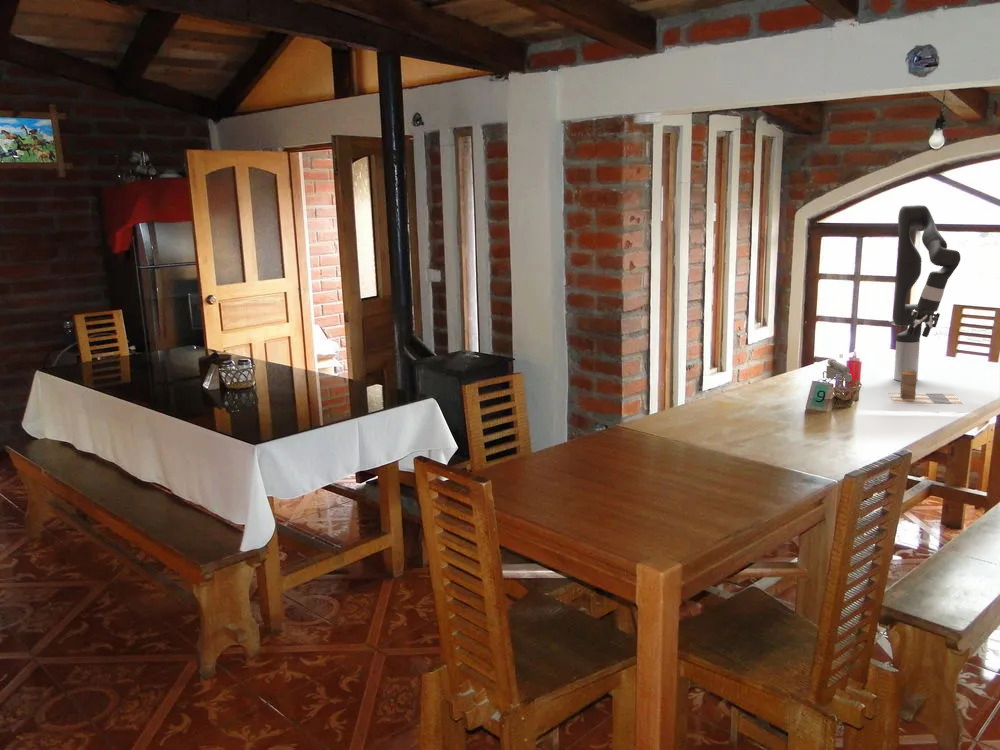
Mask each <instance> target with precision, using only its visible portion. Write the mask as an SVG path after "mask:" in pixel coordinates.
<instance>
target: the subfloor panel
mask: <svg viewBox="0 0 1000 750" xmlns="http://www.w3.org/2000/svg"><path fill="white" fill-rule="evenodd" d="M888 395H889V397H890V399H891V400H892V401H893V403H894V404H896V403H897V404H899V403H900V404H937V405H939V404H941V405H942V404H944V405H950V404H951V405H964V403H963V402H962V400H960V399H959V398H958V397H957V396H956V395H955V394H954V393H915V399H902V398H901V397H900V392H888Z"/></svg>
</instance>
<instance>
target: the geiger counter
mask: <svg viewBox="0 0 1000 750" xmlns="http://www.w3.org/2000/svg"><path fill="white" fill-rule="evenodd" d="M827 364H828V365H826V370H824V371H823V372H822V378H825V379H826V378H834V377H836V374H841V375H843V377H844V378H845V379H846V381H848V382H850V381H852V380H853V375H852V373H849V372H850V367H848V366H846V365H845V364H842V363H841V362H838V361H837V360H836V359H834V358H829V359H828V360H827ZM825 375H826V376H825ZM841 375H840V376H841Z"/></svg>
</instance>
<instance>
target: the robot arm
mask: <svg viewBox="0 0 1000 750" xmlns="http://www.w3.org/2000/svg"><path fill="white" fill-rule="evenodd" d="M897 219H898V220H897V221H898V223H897V224H898V225H897V227H898V251H897V253H898V254H897V256H898V257H897V263H896V264H897V266H896V289H895V290H896V291H895V297H894V298H895V299H894V304H893V314H892V316H893V323H894V324H895V326H898V327H905V326H906V327H908V328H907V329H905V330H904V331H901V332H899V333H897V334H896V337H895V338H896V339H895V355H894V356H895V357H894V358H895V359H894V376H893V378H894V380H896V381H899V382H901V373H902V372H901V371H902V370H915V371H916V372H917V376H916V381H918V376H919V375H918V373H919V359H920V343H921V342H920V340H921V336H922V337H925V338H928V336H929V334H930V332H931V329H933V328H936V327H937V325H938V321H939V319H940V316H941V313H940V312H937V311H938V310H939V307H940V303H941V301H942V298H943V297H944V292H945V288H946V286H947V283H948V281H949V279H950V278H951V276H952V274H953V273H954V271H955V270H956V269H957V267H958V266H959V264H960V262H961V253H960V252H959V251H958V250H956V249H951V248H948V243H947V241H946V240H945V239H944V237H943V236H942V234H941V233H940V231H939V230H938V229H937V226H936V223H935V220H934V218H933V216H932V214H931V211H930V209H929V208H928V207H927V206H926V205H924V204H911V205H910V204H909V205H902V206H901V207H900V209H899V211H898V217H897ZM920 227H921V228H922V229H924V230H923V233H922V236H921V241H922V244H923V246H924V248H926V250H927V251H928V256H929V261H930V262H931V264H933V265H934V266H936V267H941V268H940V270H934V271H933V270H932V271H931V272H929V274H928V277H927V280H926V282H925V285H924V287H923V289H922V292H921V294H920V297H919V299H918V303H911V304H910V303H909V304H906V303H907V298H908V295H909V293H910V291H911V290H912V288H913V287H914V285H915V284H916V283H917V281H918V280H919V278H920V276H921V272H922V262H923V261H922V256H921V254H920V252H919V250H918V249H917V248H916V245H915V244H914V242H913V240H912V237H911V228H920ZM923 323H924V329H923V328H922V327H923V326H922V325H923ZM922 329H923V330H922Z"/></svg>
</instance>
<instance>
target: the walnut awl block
mask: <svg viewBox="0 0 1000 750" xmlns="http://www.w3.org/2000/svg"><path fill="white" fill-rule="evenodd" d="M901 372H902V373H901V381H900V391H899V393H900V397H901V398H902V399H915V394H917V393H916V391H917V380H916V376H917V372H916V371H915V370H902V371H901Z"/></svg>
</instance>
